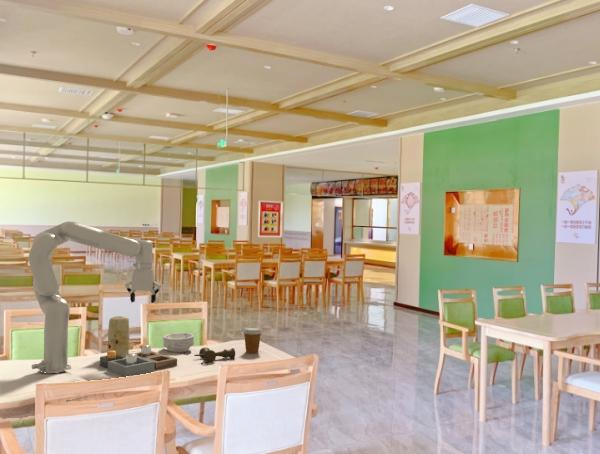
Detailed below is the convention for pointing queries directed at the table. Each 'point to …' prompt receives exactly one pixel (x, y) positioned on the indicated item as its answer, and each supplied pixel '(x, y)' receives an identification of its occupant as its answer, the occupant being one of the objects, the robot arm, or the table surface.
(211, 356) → the kendama
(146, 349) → the cylinder
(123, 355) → the food model
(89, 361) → the table surface
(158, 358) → the brown compartment tray
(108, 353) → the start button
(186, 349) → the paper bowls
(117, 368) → the tray
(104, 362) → the button housing
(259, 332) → the disposable coffee cup
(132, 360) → the cylinder
